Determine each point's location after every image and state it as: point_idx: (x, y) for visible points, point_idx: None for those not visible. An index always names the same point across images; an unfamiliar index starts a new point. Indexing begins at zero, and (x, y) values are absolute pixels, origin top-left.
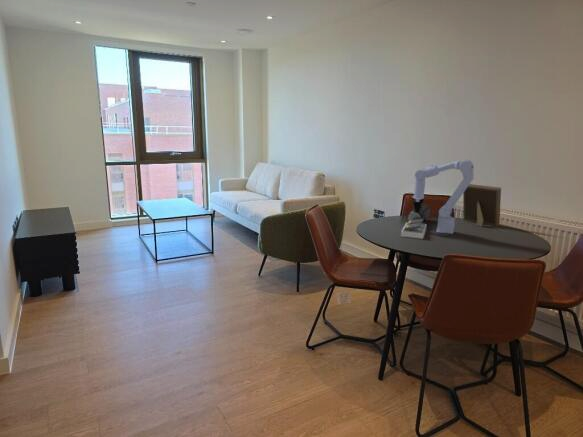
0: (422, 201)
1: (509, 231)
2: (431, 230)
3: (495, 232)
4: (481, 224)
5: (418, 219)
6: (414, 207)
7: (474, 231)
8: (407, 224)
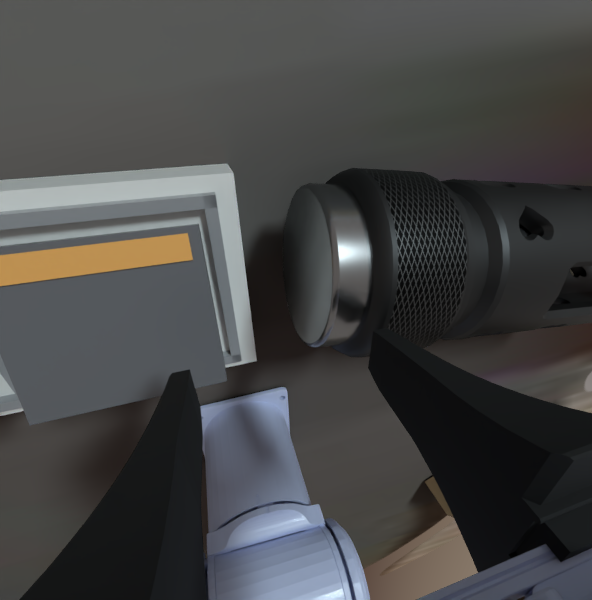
0: (461, 528)
1: (382, 539)
2: (234, 370)
3: (348, 529)
4: (433, 489)
5: (207, 341)
6: (133, 452)
7: (331, 494)
8: (93, 218)
